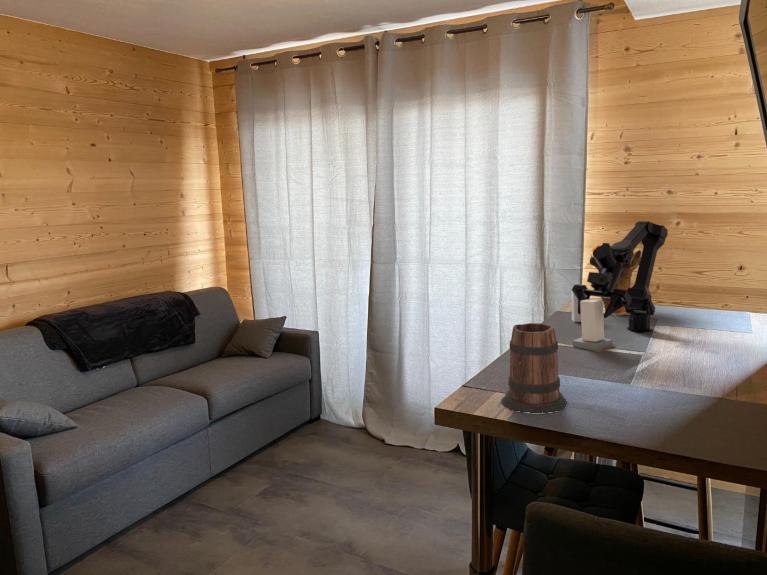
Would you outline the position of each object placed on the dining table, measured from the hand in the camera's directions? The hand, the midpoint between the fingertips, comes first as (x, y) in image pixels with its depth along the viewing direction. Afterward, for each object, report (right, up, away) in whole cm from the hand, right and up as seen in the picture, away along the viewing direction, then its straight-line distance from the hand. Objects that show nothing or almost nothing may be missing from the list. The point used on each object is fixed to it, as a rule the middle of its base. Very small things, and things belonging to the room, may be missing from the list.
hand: (591, 315), depth 198 cm
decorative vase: (+29, -1, +55) cm, 62 cm away
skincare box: (+10, -4, +42) cm, 43 cm away
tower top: (+1, -10, +3) cm, 10 cm away
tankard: (-27, -20, -37) cm, 50 cm away
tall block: (+1, -8, +2) cm, 8 cm away
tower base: (+2, -12, +3) cm, 12 cm away
